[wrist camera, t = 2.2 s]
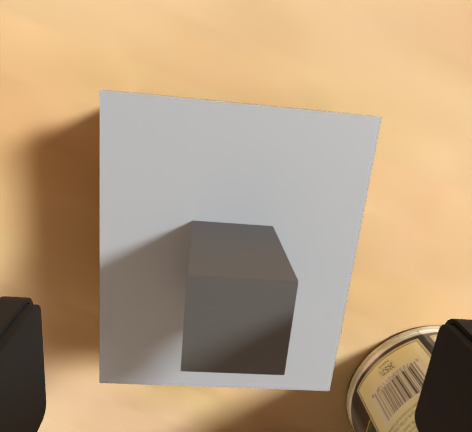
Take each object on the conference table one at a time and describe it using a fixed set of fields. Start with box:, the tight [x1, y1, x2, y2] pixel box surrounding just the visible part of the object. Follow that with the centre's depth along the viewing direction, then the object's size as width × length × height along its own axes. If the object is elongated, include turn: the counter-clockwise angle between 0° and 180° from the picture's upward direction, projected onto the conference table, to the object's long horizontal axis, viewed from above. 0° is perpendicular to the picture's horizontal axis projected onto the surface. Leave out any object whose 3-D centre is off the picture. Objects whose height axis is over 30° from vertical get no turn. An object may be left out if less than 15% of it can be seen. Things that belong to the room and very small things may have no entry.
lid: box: [100, 90, 382, 391], centre depth 15 cm, size 12×10×6 cm
